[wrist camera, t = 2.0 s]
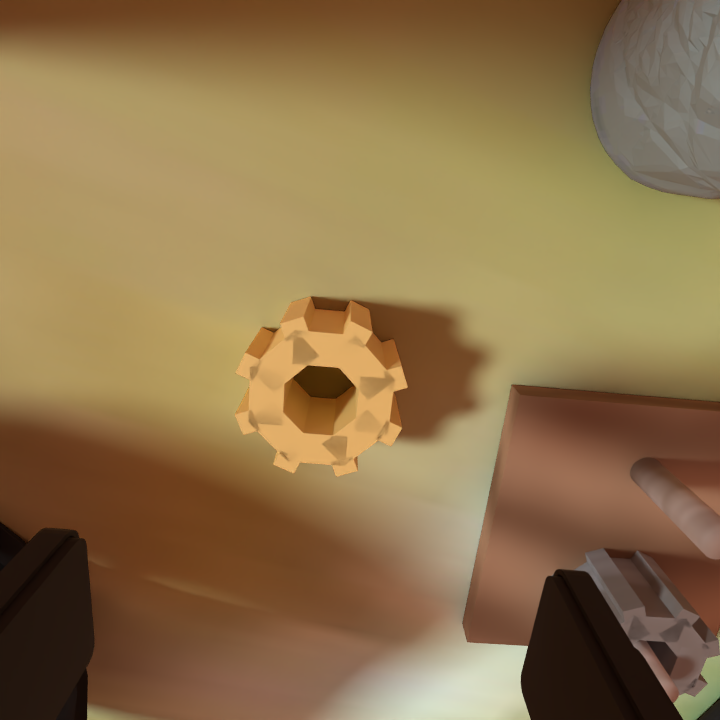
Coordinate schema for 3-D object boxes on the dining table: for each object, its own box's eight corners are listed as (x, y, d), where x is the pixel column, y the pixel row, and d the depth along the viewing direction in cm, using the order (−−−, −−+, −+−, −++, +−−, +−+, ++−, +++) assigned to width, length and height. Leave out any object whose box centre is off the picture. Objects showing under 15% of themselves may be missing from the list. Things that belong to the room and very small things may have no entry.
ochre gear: (254, 291, 21) (236, 310, 18) (405, 304, 22) (416, 326, 18) (250, 428, 23) (233, 469, 20) (388, 439, 24) (395, 481, 20)
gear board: (512, 384, 23) (567, 452, 17) (784, 407, 23) (930, 480, 18) (462, 623, 27) (492, 742, 21) (692, 637, 28) (783, 757, 22)
